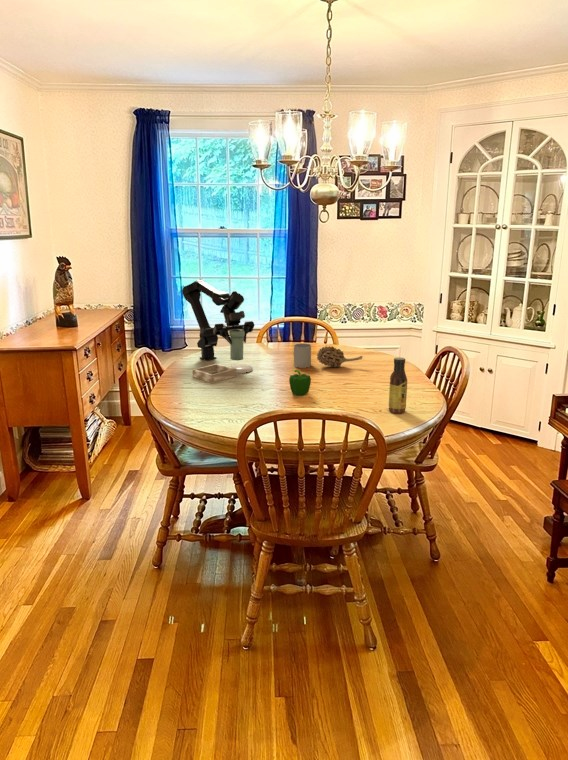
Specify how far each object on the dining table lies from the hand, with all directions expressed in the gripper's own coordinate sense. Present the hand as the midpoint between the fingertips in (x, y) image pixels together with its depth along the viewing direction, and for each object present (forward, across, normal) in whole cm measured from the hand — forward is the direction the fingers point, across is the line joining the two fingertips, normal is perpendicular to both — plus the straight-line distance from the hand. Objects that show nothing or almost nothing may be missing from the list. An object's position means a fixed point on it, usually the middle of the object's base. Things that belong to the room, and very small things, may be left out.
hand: (238, 343), depth 258 cm
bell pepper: (+40, +11, -22) cm, 47 cm away
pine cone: (+19, +46, 0) cm, 50 cm away
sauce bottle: (+64, +35, -46) cm, 86 cm away
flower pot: (+4, 0, +6) cm, 8 cm away
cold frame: (+12, -13, +6) cm, 19 cm away
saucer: (+8, +1, +10) cm, 13 cm away
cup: (+12, +31, +7) cm, 34 cm away
